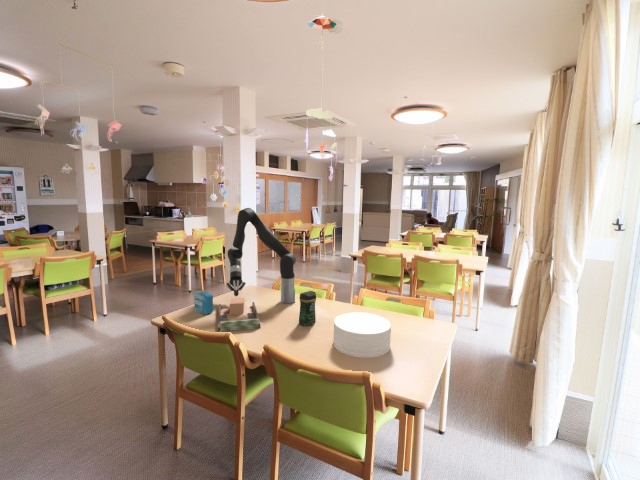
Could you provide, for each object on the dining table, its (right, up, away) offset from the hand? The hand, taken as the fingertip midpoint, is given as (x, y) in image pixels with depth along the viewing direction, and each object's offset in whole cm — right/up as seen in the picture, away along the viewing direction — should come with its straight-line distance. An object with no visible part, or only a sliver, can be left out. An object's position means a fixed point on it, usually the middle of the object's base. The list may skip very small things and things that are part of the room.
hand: (236, 295), depth 215 cm
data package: (-17, -8, -13) cm, 23 cm away
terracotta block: (+3, -8, -10) cm, 14 cm away
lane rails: (+6, -9, -21) cm, 24 cm away
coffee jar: (+48, -11, -27) cm, 56 cm away
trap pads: (+6, -9, -20) cm, 23 cm away
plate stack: (+76, -16, -52) cm, 93 cm away
